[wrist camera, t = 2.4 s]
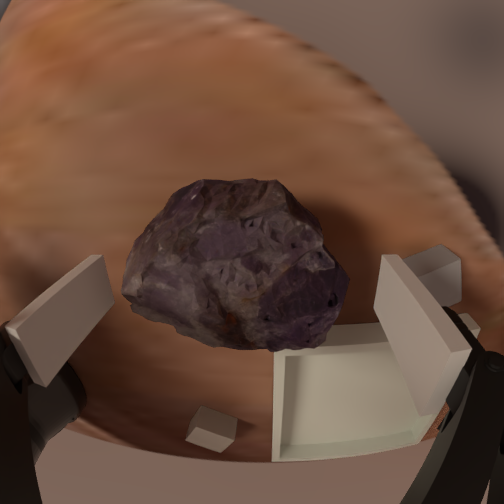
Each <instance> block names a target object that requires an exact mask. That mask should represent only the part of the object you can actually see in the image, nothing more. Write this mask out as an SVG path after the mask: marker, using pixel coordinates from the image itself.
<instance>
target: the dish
mask: <svg viewBox="0 0 504 504" xmlns="http://www.w3.org/2000/svg"><path fill="white" fill-rule="evenodd" d="M458 316H459V317H460V318H461V319H462V321H463V323H465V324H466V326H467V327H468V330H470V331H471V332H472V333H473V335H474V336H475V337H476V339H477V337H478V334H479V332H480V329H481V328H480V327H479V326H478V324H477V323H476V322H475V321H474V320H473V319H472V317H471V316H470V315H469V314H468V313H463V314H458ZM445 402H446V401H445ZM442 407H443V406H442ZM441 409H442V408H441ZM439 412H440V411H439ZM438 414H439V413H435V414H430V415H426V416H421V417H419V415H418V412H417V409H416V407H415V404H414V401H413V399H412V396H411V394H410V391H409V388H408V386H407V383H406V381H405V378H404V376H403V374H402V371H401V369H400V366H399V364H398V362H397V359H396V357H395V355H394V352H393V350H392V348H391V345H390V343H389V341H388V339H387V336H386V334H385V332H384V330H383V328H382V325H381V323H380V322H378V323H363V324H346V325H332V327H331V328H330V330H329V331H328V333H327V337H326V341H325V342H323V343H322V344H321V345H320V346H318V347H317V348H315V349H312V348H304V349H301V350H291V349H284V350H281V351H278V352H274V392H273V437H272V462H286V461H311V460H325V459H336V458H345V457H353V456H360V455H367V454H373V453H378V452H384V451H389V450H394V449H399V448H404V447H408V446H412V445H416V444H419V442H420V441H421V440H422V438H423V437H424V435H425V434H426V432H427V431H428V429H429V428H430V426H431V425H432V423H433V422H434V420H435V418H436V417H437V415H438Z"/></svg>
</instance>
